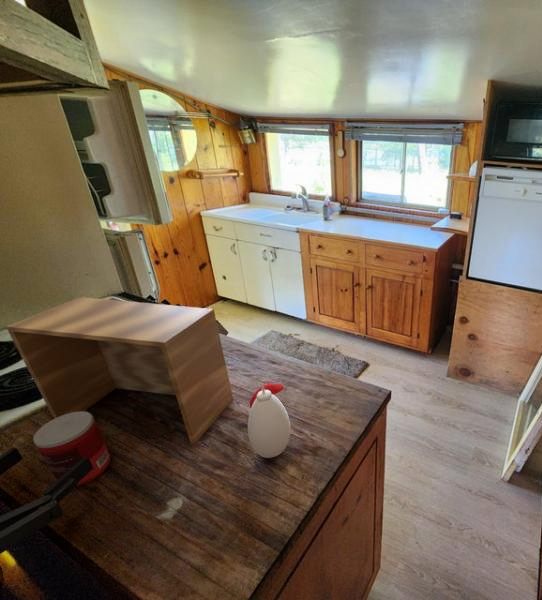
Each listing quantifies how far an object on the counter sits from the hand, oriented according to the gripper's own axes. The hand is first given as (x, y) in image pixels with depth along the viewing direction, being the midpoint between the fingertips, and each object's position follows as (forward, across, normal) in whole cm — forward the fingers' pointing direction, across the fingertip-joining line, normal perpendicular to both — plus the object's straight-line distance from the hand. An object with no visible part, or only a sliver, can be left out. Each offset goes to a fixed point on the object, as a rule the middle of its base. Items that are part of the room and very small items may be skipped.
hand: (53, 457), depth 56 cm
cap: (+24, +26, -7) cm, 36 cm away
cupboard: (+19, 0, -7) cm, 20 cm away
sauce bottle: (+12, +33, -7) cm, 36 cm away
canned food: (+3, 0, -7) cm, 8 cm away
